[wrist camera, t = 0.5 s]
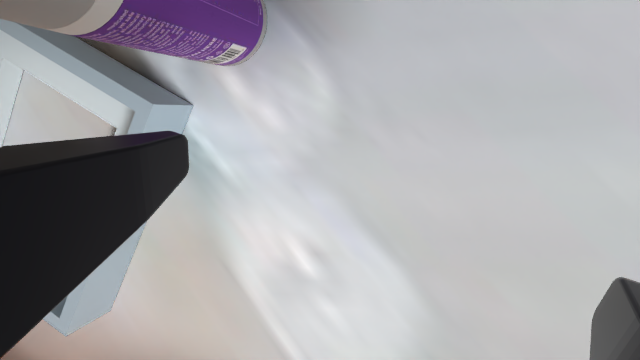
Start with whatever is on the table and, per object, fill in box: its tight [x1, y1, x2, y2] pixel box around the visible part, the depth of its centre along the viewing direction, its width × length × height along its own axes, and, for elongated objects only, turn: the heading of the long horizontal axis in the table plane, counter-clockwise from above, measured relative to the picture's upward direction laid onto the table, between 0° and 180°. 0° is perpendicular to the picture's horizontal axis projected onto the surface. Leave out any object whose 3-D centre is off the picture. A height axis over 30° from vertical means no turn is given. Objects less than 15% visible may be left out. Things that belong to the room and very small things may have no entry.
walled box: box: [0, 19, 193, 336], centre depth 27 cm, size 15×15×4 cm
